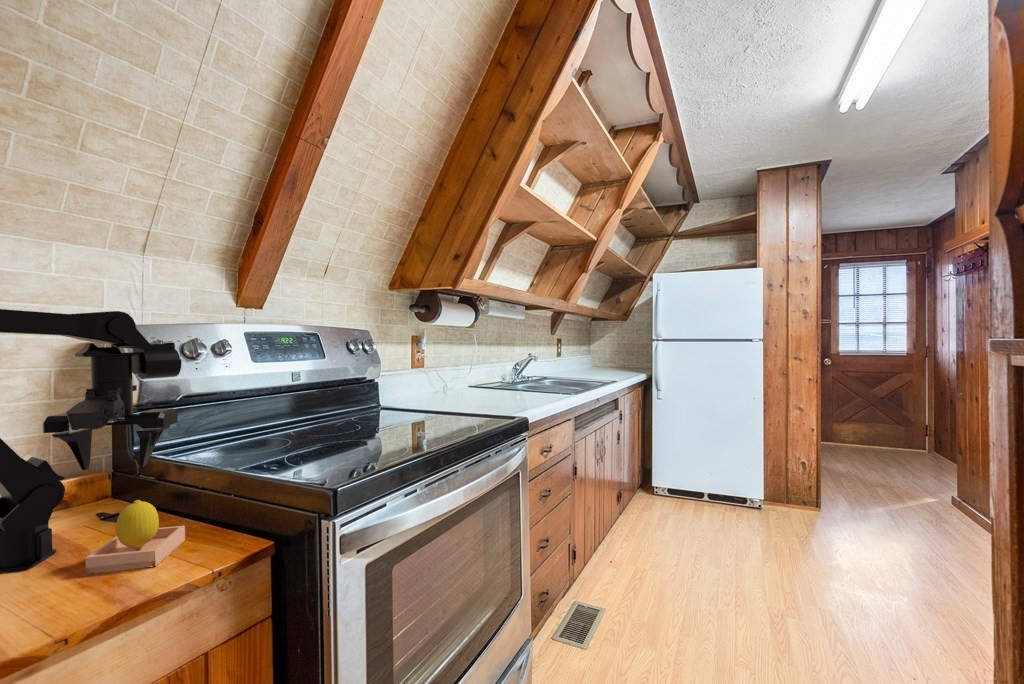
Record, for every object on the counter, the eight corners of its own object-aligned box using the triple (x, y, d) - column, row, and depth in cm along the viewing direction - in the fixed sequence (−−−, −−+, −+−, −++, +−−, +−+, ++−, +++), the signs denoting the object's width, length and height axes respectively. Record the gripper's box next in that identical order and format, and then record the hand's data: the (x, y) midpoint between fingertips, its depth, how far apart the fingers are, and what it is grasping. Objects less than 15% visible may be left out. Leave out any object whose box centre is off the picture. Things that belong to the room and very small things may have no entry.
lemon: (109, 552, 78) (108, 503, 78) (148, 539, 83) (147, 492, 83) (127, 559, 76) (126, 508, 75) (166, 546, 80) (165, 497, 80)
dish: (85, 574, 73) (85, 557, 73) (124, 545, 83) (124, 531, 83) (155, 567, 75) (155, 550, 75) (185, 539, 85) (184, 525, 85)
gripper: (14, 387, 78) (17, 485, 79) (144, 383, 82) (147, 477, 82) (65, 381, 89) (67, 467, 90) (178, 378, 93) (180, 460, 93)
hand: (114, 468), depth 88 cm, fingers open, 9 cm apart
